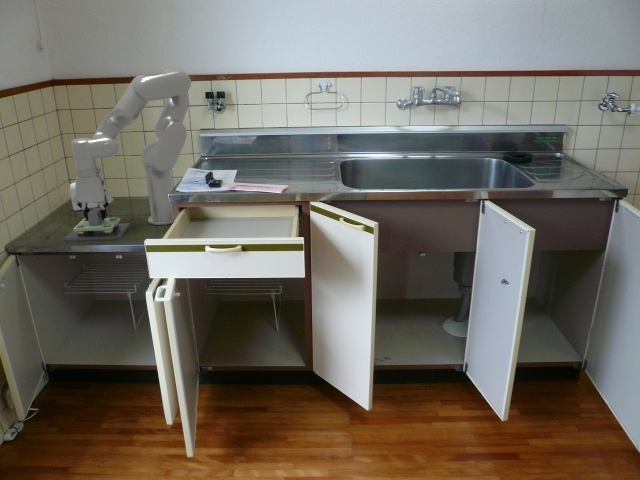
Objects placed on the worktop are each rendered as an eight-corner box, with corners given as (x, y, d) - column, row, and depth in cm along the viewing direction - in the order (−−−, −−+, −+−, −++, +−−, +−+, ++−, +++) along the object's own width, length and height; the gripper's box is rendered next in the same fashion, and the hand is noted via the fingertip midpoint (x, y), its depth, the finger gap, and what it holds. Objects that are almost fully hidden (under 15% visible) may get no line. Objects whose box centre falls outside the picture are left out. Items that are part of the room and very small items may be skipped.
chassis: (130, 226, 210) (128, 214, 208) (119, 239, 197) (117, 226, 196) (79, 227, 210) (77, 215, 208) (65, 240, 197) (62, 228, 195)
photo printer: (97, 204, 236) (92, 178, 231) (99, 207, 233) (94, 180, 228) (72, 209, 231) (67, 181, 226) (74, 212, 227) (68, 184, 223)
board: (120, 219, 208) (118, 205, 205) (111, 230, 198) (109, 214, 195) (84, 221, 207) (81, 206, 205) (73, 231, 197) (70, 216, 195)
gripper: (114, 169, 198) (122, 215, 205) (68, 170, 198) (77, 216, 204) (108, 174, 191) (116, 221, 198) (59, 175, 191) (69, 223, 198)
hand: (96, 218), depth 201 cm, fingers open, 5 cm apart
